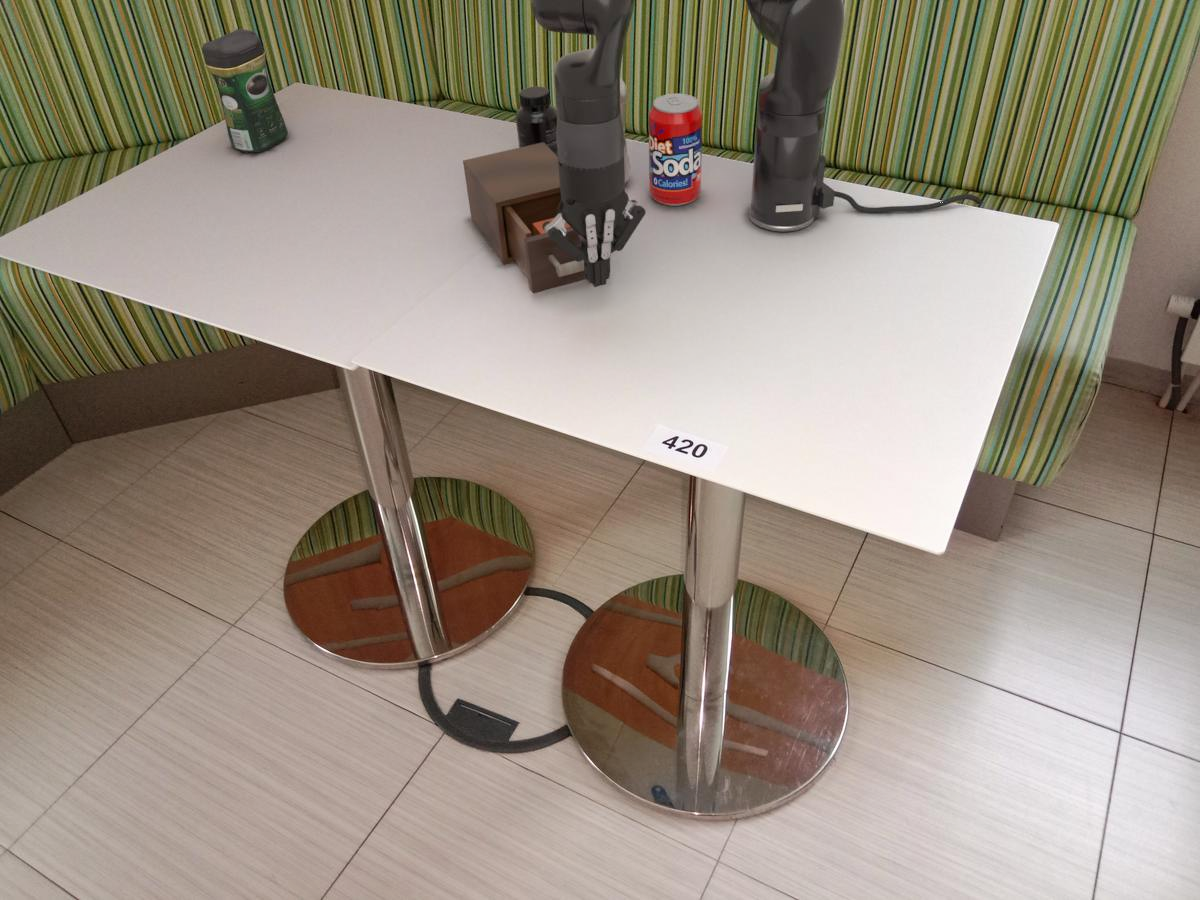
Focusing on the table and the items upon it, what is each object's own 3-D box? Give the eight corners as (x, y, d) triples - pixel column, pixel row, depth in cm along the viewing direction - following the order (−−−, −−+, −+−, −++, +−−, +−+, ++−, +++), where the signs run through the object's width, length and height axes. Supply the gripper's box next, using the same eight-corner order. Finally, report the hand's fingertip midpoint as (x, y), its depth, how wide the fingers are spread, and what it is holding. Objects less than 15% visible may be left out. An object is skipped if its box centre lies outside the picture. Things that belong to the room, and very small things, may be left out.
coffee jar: (264, 128, 176) (233, 22, 163) (296, 136, 172) (267, 28, 160) (224, 149, 170) (189, 41, 157) (256, 158, 166) (223, 48, 154)
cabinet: (585, 243, 140) (581, 181, 134) (503, 264, 137) (495, 202, 130) (548, 201, 150) (543, 141, 144) (471, 220, 147) (462, 160, 140)
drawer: (624, 288, 129) (623, 236, 124) (545, 311, 126) (540, 258, 121) (572, 229, 141) (569, 179, 136) (499, 248, 138) (493, 198, 133)
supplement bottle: (555, 151, 163) (549, 80, 155) (567, 168, 158) (562, 95, 150) (516, 158, 162) (508, 87, 154) (526, 176, 157) (519, 103, 149)
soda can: (691, 182, 153) (693, 87, 143) (707, 205, 147) (710, 108, 137) (643, 189, 151) (642, 95, 141) (657, 213, 146) (657, 116, 136)
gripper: (630, 126, 113) (632, 256, 125) (524, 150, 110) (537, 281, 121) (658, 151, 108) (658, 284, 120) (548, 177, 105) (559, 311, 116)
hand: (597, 282), depth 121 cm, fingers closed
